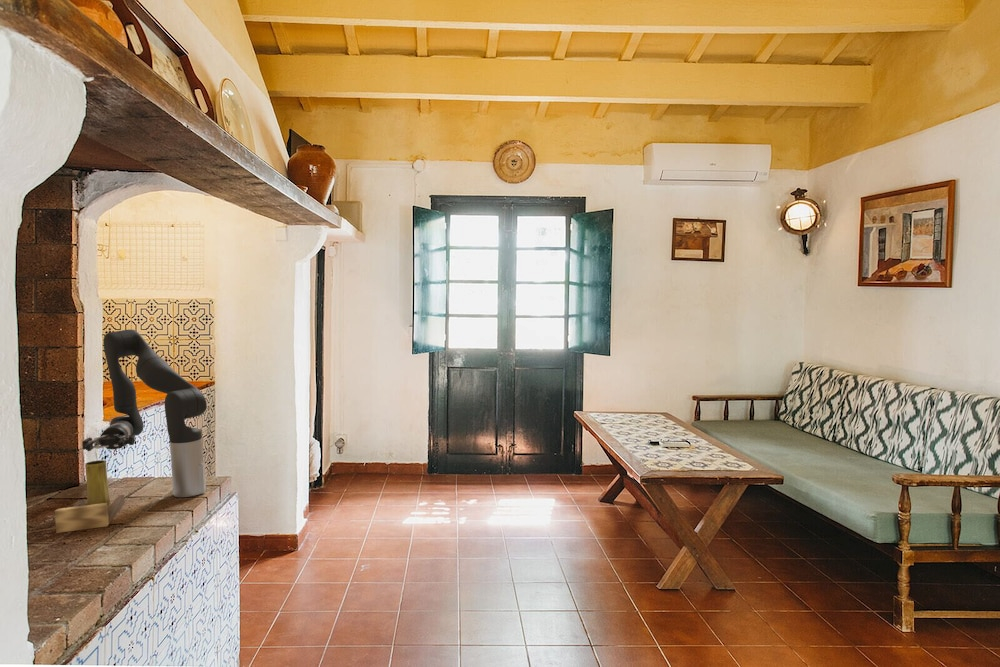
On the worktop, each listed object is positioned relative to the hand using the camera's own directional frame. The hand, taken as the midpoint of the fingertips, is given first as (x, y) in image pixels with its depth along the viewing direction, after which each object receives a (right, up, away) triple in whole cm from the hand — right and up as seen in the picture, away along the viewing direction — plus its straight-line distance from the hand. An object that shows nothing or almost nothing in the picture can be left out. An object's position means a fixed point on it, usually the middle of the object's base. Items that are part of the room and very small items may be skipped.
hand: (104, 446), depth 203 cm
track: (+7, -17, -16) cm, 25 cm away
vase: (+5, -17, -10) cm, 20 cm away
